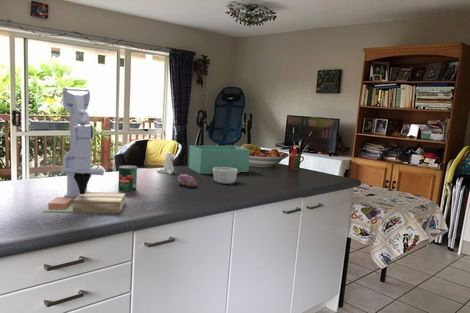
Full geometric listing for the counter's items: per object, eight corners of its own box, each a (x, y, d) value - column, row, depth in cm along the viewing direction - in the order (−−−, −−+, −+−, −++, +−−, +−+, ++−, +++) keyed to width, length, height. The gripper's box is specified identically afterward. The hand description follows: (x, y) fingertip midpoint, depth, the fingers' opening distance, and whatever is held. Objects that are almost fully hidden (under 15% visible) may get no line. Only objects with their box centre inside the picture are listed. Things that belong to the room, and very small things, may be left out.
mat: (56, 201, 149) (56, 200, 149) (82, 201, 151) (82, 200, 150) (43, 211, 134) (42, 210, 134) (71, 212, 136) (71, 211, 136)
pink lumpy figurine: (178, 187, 194) (174, 175, 190) (183, 182, 197) (180, 170, 194) (193, 190, 189) (190, 178, 185) (199, 185, 192) (195, 173, 189)
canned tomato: (117, 192, 168) (118, 167, 167) (118, 188, 176) (118, 165, 174) (136, 192, 170) (137, 168, 169) (136, 188, 178) (136, 165, 177)
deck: (82, 202, 150) (82, 191, 150) (125, 202, 152) (125, 193, 152) (72, 212, 136) (73, 200, 136) (119, 212, 139) (119, 202, 138)
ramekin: (232, 179, 216) (233, 166, 215) (240, 184, 203) (240, 171, 202) (209, 179, 212) (210, 166, 211) (215, 184, 199) (216, 171, 198)
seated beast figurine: (156, 172, 221) (156, 152, 220) (164, 170, 229) (165, 150, 228) (170, 174, 218) (171, 153, 216) (178, 172, 226) (179, 152, 224)
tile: (72, 197, 147) (72, 202, 147) (56, 197, 146) (56, 202, 146) (66, 203, 138) (66, 209, 138) (48, 203, 137) (48, 208, 137)
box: (248, 172, 240) (249, 149, 239) (200, 174, 227) (201, 149, 225) (234, 167, 259) (235, 145, 257) (188, 168, 245) (189, 145, 243)
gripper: (58, 158, 136) (58, 195, 138) (101, 159, 138) (100, 196, 140) (64, 155, 143) (64, 191, 145) (105, 156, 145) (104, 192, 147)
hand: (82, 193), depth 143 cm, fingers closed
